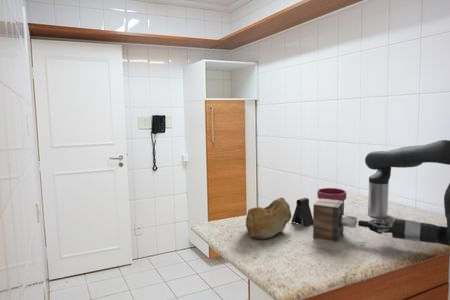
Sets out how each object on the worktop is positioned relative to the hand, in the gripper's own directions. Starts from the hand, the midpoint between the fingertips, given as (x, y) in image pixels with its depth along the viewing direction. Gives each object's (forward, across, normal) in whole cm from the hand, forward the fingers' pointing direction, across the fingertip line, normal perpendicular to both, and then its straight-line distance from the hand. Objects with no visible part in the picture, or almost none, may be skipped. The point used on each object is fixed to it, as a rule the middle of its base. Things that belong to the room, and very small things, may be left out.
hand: (358, 222), depth 137 cm
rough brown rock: (+38, +9, +8) cm, 40 cm away
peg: (+6, 0, +2) cm, 6 cm away
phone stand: (+27, -11, +8) cm, 30 cm away
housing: (+12, 0, +8) cm, 14 cm away
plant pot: (+18, -31, +8) cm, 37 cm away
